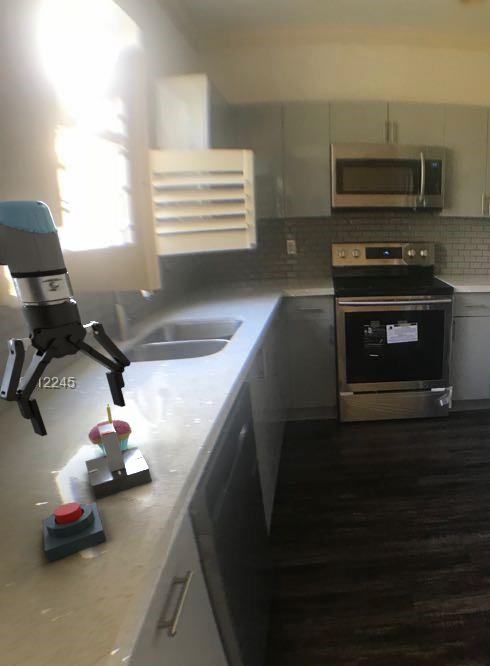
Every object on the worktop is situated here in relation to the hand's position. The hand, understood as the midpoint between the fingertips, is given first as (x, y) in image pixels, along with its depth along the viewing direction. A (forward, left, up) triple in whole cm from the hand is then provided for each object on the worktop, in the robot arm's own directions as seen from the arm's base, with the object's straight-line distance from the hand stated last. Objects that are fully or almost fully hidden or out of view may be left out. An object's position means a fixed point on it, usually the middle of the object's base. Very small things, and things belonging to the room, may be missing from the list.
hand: (83, 418), depth 83 cm
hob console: (-6, +3, -16) cm, 18 cm away
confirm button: (+10, -6, -13) cm, 17 cm away
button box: (+10, -6, -16) cm, 20 cm away
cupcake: (-20, +4, -17) cm, 26 cm away
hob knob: (-6, +3, -13) cm, 15 cm away
